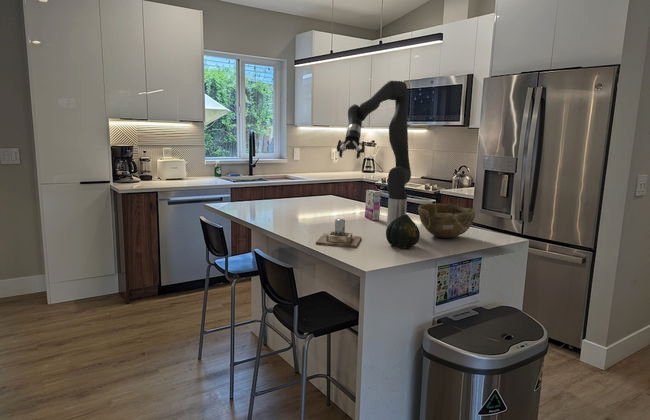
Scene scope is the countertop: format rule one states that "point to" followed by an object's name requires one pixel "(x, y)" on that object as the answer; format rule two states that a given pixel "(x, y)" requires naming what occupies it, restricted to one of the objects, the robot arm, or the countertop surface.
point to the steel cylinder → (339, 227)
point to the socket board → (339, 240)
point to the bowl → (445, 219)
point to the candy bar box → (372, 204)
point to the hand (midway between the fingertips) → (349, 157)
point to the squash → (402, 232)
